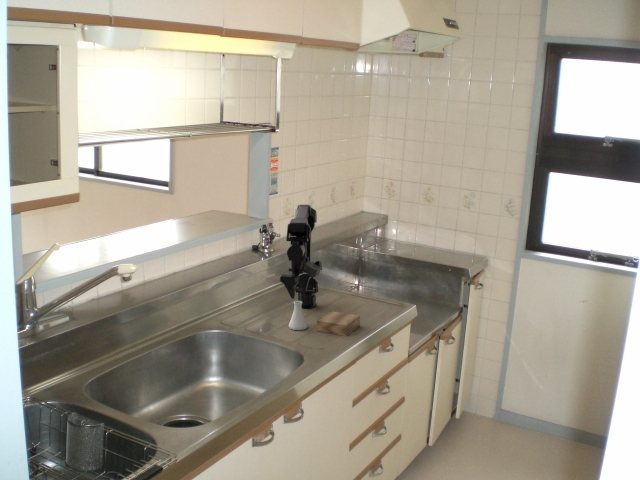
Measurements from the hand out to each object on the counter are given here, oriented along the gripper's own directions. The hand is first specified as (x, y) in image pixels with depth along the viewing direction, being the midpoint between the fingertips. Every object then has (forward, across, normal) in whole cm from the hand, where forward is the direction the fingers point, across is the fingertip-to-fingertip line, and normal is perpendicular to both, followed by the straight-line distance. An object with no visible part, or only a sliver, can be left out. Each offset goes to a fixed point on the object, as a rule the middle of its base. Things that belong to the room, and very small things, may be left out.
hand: (298, 295), depth 258 cm
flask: (+13, 0, 0) cm, 13 cm away
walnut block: (+13, +6, -14) cm, 20 cm away
